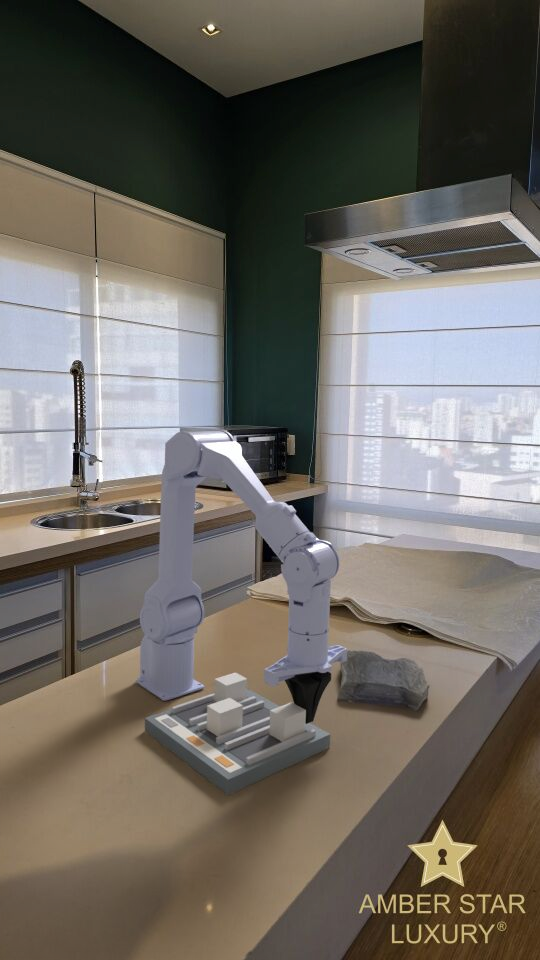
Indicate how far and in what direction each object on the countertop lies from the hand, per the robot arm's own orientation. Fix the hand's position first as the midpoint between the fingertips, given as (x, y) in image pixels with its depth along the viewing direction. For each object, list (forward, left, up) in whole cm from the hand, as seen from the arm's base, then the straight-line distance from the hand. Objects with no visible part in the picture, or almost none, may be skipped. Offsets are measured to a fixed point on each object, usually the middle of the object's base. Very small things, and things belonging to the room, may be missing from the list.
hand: (305, 719), depth 95 cm
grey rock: (-5, +23, -4) cm, 24 cm away
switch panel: (-6, -7, -3) cm, 10 cm away
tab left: (-13, -3, -1) cm, 13 cm away
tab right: (0, -3, -1) cm, 4 cm away
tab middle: (-6, -9, -1) cm, 12 cm away
